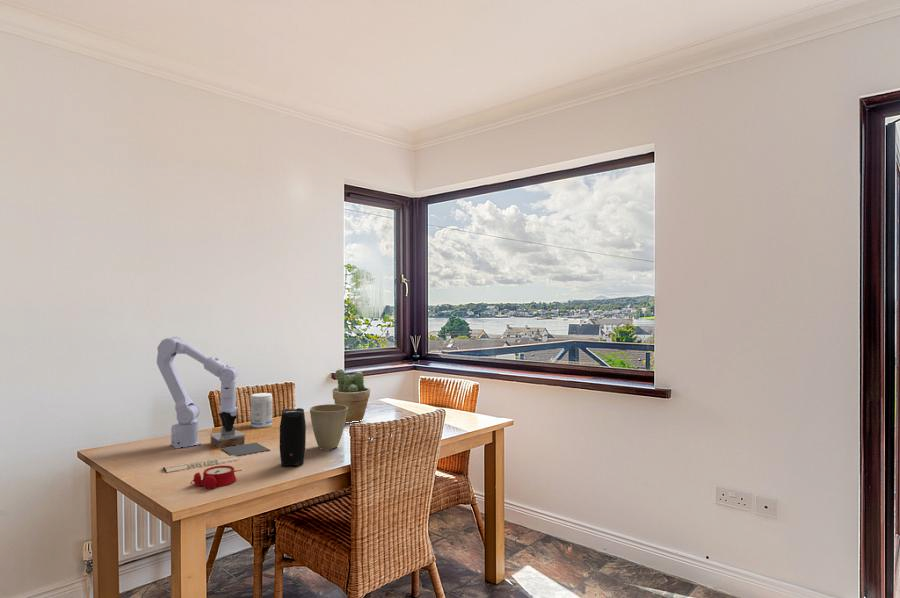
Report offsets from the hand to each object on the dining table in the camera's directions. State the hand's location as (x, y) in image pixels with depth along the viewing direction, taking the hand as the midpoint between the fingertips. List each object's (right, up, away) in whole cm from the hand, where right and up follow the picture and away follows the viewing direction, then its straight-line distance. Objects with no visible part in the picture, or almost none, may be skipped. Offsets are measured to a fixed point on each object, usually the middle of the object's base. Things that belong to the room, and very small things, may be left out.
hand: (227, 430), depth 221 cm
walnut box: (0, -5, 0) cm, 5 cm away
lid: (0, -3, 0) cm, 3 cm away
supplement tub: (+3, -6, +32) cm, 32 cm away
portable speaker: (+34, -6, -27) cm, 44 cm away
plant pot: (+42, -6, -4) cm, 43 cm away
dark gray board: (+11, -5, -9) cm, 15 cm away
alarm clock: (+15, -6, -48) cm, 51 cm away
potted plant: (+43, -6, +44) cm, 61 cm away
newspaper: (+3, -6, -29) cm, 30 cm away
